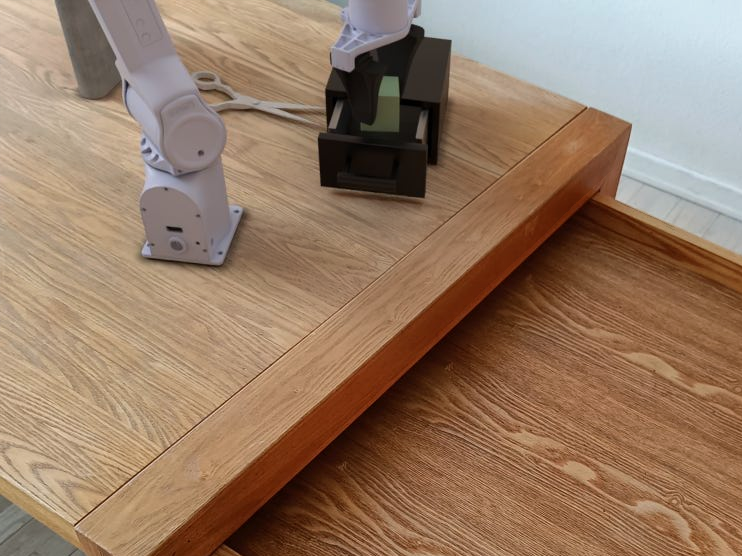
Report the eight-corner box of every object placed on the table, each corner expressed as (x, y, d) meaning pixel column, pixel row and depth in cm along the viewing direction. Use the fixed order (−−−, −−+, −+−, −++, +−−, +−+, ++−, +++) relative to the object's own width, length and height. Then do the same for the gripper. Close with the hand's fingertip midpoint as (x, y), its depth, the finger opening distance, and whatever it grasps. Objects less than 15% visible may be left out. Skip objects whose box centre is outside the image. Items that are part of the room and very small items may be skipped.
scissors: (183, 66, 109) (342, 92, 108) (185, 73, 109) (342, 98, 109) (149, 110, 102) (318, 138, 101) (151, 116, 103) (318, 144, 102)
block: (397, 112, 96) (398, 76, 93) (398, 132, 94) (399, 96, 91) (360, 110, 96) (360, 74, 92) (360, 130, 93) (360, 94, 90)
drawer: (420, 222, 94) (422, 174, 89) (313, 210, 93) (309, 160, 89) (436, 132, 105) (439, 85, 100) (340, 121, 104) (338, 73, 100)
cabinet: (436, 165, 102) (440, 102, 96) (328, 152, 102) (324, 89, 96) (448, 100, 111) (451, 39, 105) (348, 88, 111) (346, 26, 105)
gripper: (378, -65, 88) (379, 69, 99) (299, -12, 79) (309, 128, 90) (441, -46, 87) (435, 87, 97) (367, 10, 78) (369, 149, 89)
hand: (378, 108), depth 94 cm, fingers closed on block, 5 cm apart
